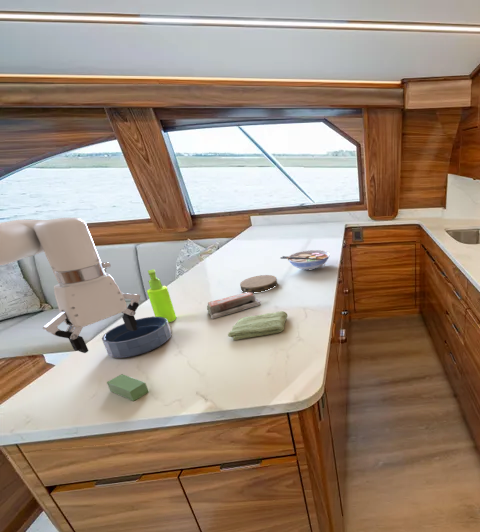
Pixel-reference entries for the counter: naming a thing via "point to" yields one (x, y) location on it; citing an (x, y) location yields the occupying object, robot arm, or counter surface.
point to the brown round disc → (258, 283)
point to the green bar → (127, 387)
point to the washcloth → (258, 325)
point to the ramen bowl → (308, 259)
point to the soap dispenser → (160, 298)
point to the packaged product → (232, 304)
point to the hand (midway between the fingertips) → (109, 339)
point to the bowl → (137, 337)
